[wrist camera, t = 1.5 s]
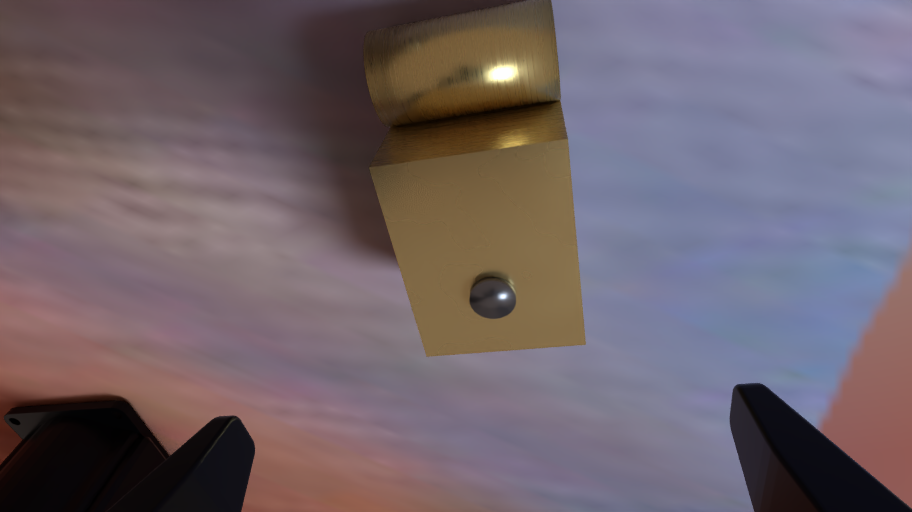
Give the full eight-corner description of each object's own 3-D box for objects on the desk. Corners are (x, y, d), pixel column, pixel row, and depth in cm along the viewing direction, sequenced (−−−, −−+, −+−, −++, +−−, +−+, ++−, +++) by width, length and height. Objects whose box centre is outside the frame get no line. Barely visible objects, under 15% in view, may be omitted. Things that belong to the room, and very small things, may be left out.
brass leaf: (442, 275, 19) (425, 362, 15) (377, 22, 14) (332, 64, 11) (573, 261, 18) (586, 350, 15) (547, -12, 14) (557, 23, 10)
